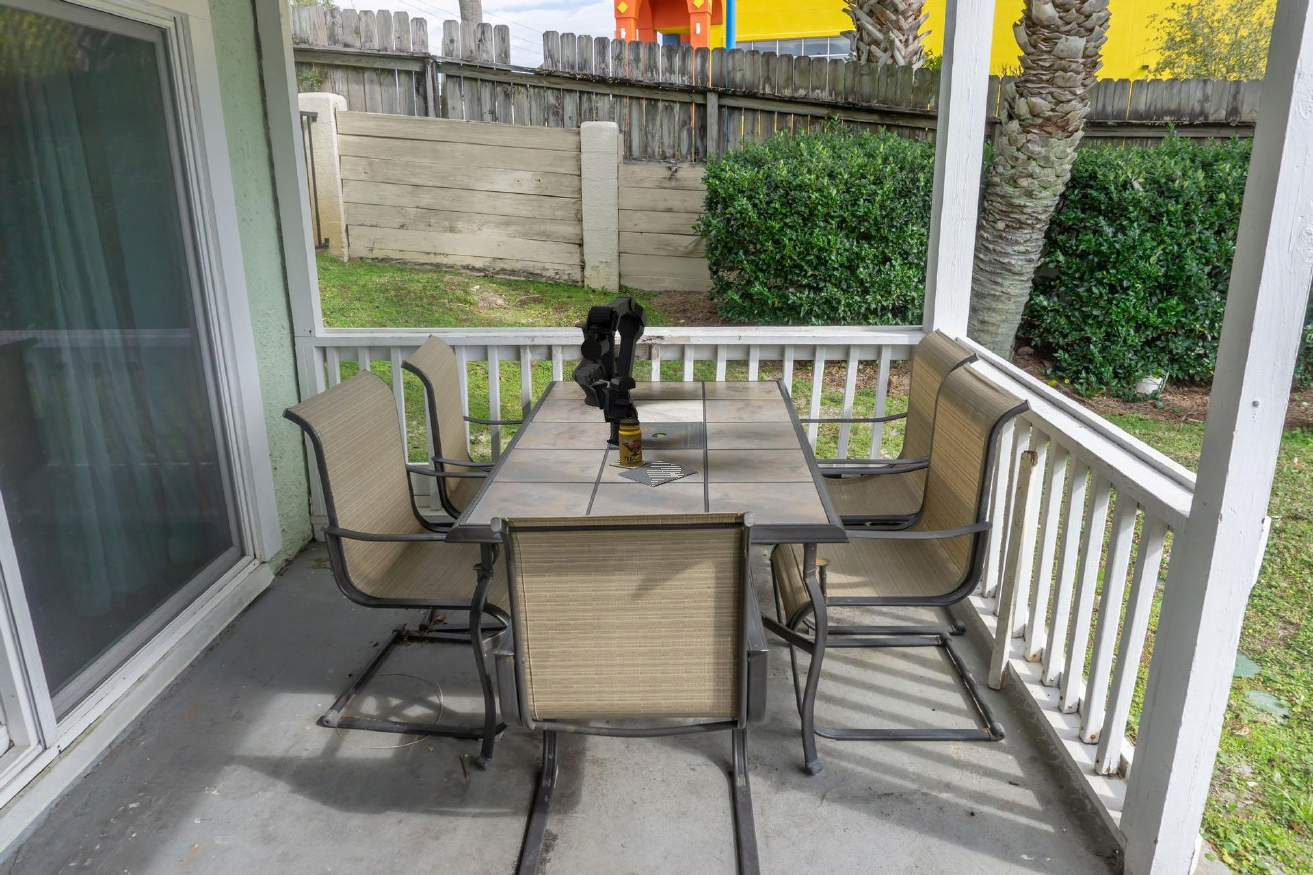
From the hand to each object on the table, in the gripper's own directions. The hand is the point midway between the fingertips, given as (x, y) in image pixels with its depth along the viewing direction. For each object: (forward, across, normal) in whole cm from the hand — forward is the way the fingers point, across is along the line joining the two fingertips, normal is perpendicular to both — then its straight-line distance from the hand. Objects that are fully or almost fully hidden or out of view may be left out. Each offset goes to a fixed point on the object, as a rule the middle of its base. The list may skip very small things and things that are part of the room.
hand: (605, 410), depth 240 cm
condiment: (+13, +9, 0) cm, 16 cm away
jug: (+13, -45, +38) cm, 60 cm away
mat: (+13, +20, 0) cm, 24 cm away
